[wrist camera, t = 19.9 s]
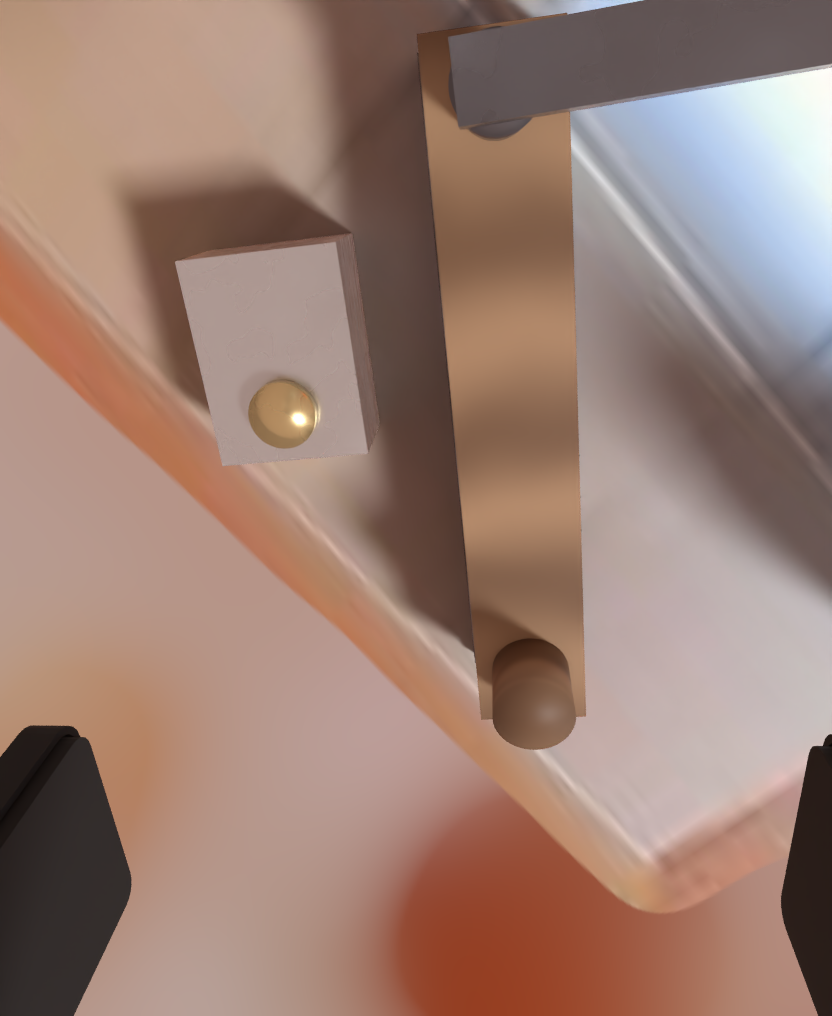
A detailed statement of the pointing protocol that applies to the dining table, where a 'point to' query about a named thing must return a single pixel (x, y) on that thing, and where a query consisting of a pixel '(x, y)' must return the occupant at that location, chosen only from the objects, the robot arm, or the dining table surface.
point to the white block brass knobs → (282, 349)
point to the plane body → (512, 400)
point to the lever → (629, 56)
